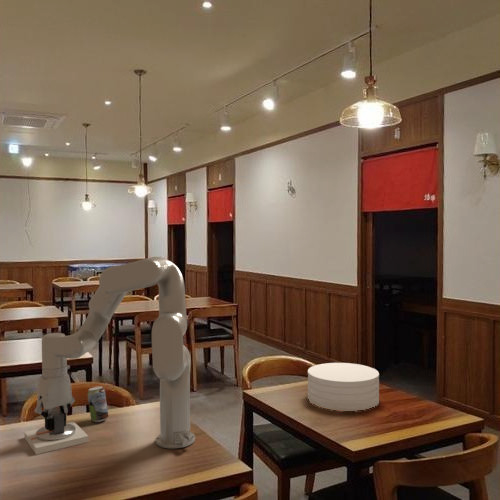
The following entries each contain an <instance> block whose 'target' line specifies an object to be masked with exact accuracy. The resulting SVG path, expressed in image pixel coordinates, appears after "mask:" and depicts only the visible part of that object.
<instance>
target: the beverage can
mask: <svg viewBox="0 0 500 500" xmlns="http://www.w3.org/2000/svg"><path fill="white" fill-rule="evenodd" d="M106 397H107V396H106V390H105V388H104V387H103V386H101V385H100V386H95V387H91V388H89V389H88V392H87V400H88V407H89V414H90V420H91V421H92V422H94V423H100V422H102V421H106V420H107V418H109V411H108V404H107V398H106Z"/></svg>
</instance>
